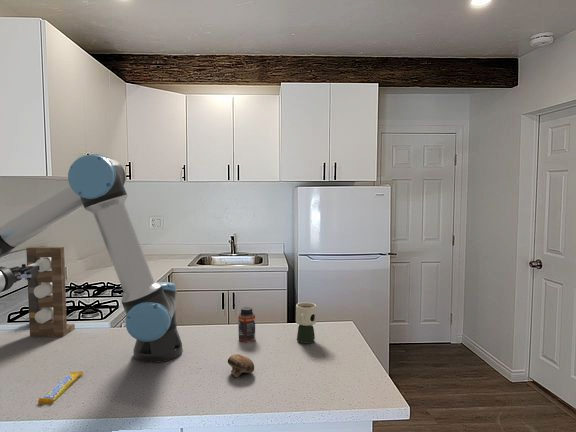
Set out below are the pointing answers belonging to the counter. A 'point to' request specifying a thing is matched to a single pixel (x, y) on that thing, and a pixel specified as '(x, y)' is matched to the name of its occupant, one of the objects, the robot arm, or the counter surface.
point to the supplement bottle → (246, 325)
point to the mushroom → (240, 364)
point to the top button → (45, 263)
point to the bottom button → (44, 315)
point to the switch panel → (55, 301)
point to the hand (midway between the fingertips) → (40, 266)
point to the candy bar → (61, 387)
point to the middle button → (43, 290)
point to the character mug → (305, 321)
